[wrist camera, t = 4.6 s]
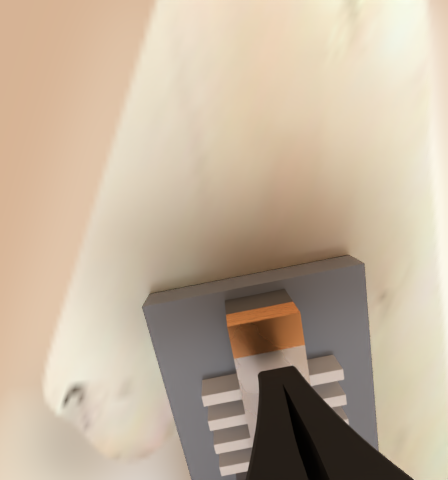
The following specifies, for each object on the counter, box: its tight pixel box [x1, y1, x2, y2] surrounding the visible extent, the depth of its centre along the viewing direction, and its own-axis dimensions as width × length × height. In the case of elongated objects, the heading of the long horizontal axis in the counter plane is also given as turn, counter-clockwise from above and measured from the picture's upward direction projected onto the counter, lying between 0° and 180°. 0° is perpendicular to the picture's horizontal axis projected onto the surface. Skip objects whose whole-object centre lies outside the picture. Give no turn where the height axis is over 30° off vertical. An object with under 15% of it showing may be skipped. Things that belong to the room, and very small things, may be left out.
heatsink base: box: [142, 255, 379, 480], centre depth 13 cm, size 13×11×5 cm
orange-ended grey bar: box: [226, 302, 311, 447], centre depth 12 cm, size 12×3×1 cm, turn 11°
